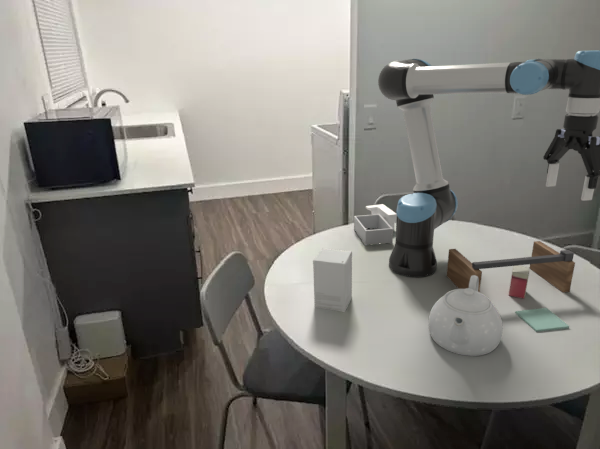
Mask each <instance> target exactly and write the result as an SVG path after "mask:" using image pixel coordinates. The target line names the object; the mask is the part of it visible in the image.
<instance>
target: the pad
mask: <svg viewBox="0 0 600 449" xmlns="http://www.w3.org/2000/svg"><path fill="white" fill-rule="evenodd" d="M514 313H515V315H517V316H518V317H520V319H521V320H522V321H523V322H524V323H526V324H527V325H528V326H529V327H530V328H531V329H532V330H534V332H546V331H554V330H555V331H556V330H565V329H569V328H570V325H569V324H567V322H565V321H563V320H562V319H561V318H560V317H558V315H556V314H555V313H554V312H553V311H551V310H550V309H549V308H547V307H543V308H533V309H524V310H516V311H514Z"/></svg>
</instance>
